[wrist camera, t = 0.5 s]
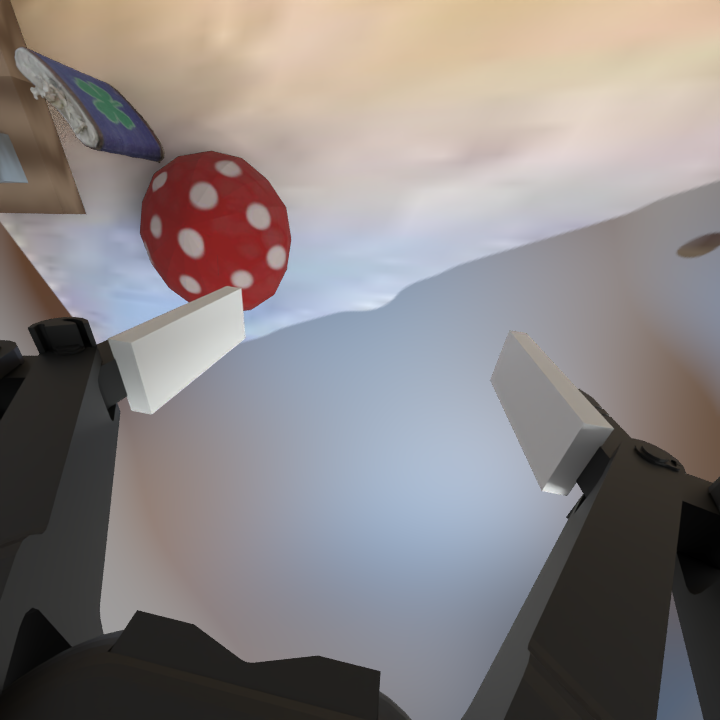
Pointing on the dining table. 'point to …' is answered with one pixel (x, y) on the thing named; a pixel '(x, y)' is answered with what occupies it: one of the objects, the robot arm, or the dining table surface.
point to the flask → (90, 107)
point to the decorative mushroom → (215, 228)
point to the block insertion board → (29, 139)
